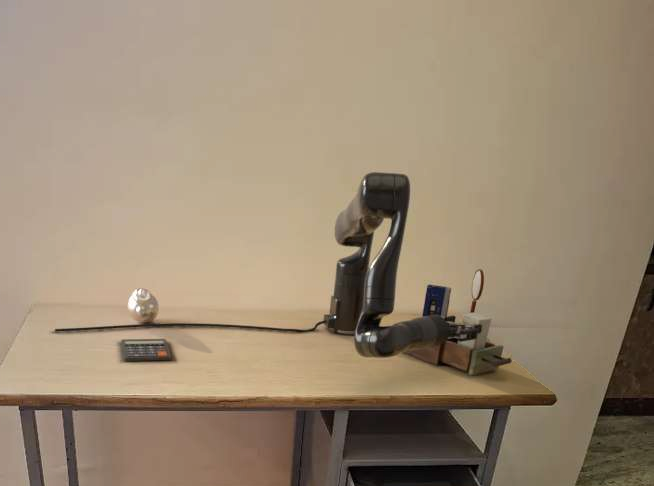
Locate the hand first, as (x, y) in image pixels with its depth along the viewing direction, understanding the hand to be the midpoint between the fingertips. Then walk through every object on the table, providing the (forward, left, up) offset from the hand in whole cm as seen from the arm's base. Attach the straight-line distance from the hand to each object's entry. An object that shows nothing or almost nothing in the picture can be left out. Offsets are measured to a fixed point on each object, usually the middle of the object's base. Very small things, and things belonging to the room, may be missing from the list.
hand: (467, 324), depth 178 cm
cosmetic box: (+3, +1, -11) cm, 11 cm away
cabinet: (-2, +13, -12) cm, 18 cm away
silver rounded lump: (-79, +44, -12) cm, 91 cm away
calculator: (-80, +18, -12) cm, 83 cm away
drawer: (+4, 0, -11) cm, 12 cm away
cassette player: (+11, +41, -12) cm, 44 cm away
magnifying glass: (+16, +27, -12) cm, 34 cm away
